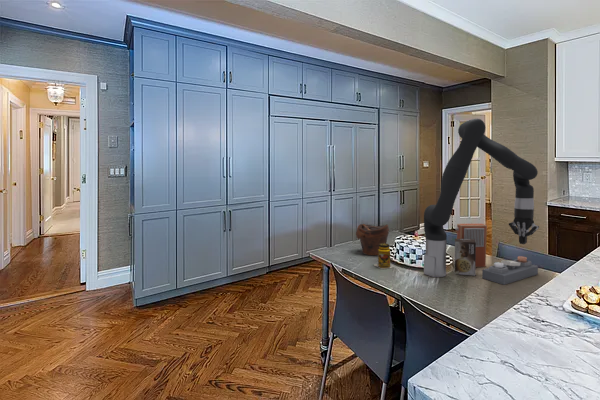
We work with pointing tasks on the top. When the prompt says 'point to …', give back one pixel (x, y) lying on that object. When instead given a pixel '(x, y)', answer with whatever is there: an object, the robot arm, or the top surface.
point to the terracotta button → (522, 259)
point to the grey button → (498, 265)
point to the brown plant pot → (372, 237)
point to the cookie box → (465, 256)
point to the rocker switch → (511, 263)
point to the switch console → (510, 272)
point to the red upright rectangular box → (477, 234)
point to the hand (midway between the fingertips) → (522, 243)
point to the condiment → (383, 256)
